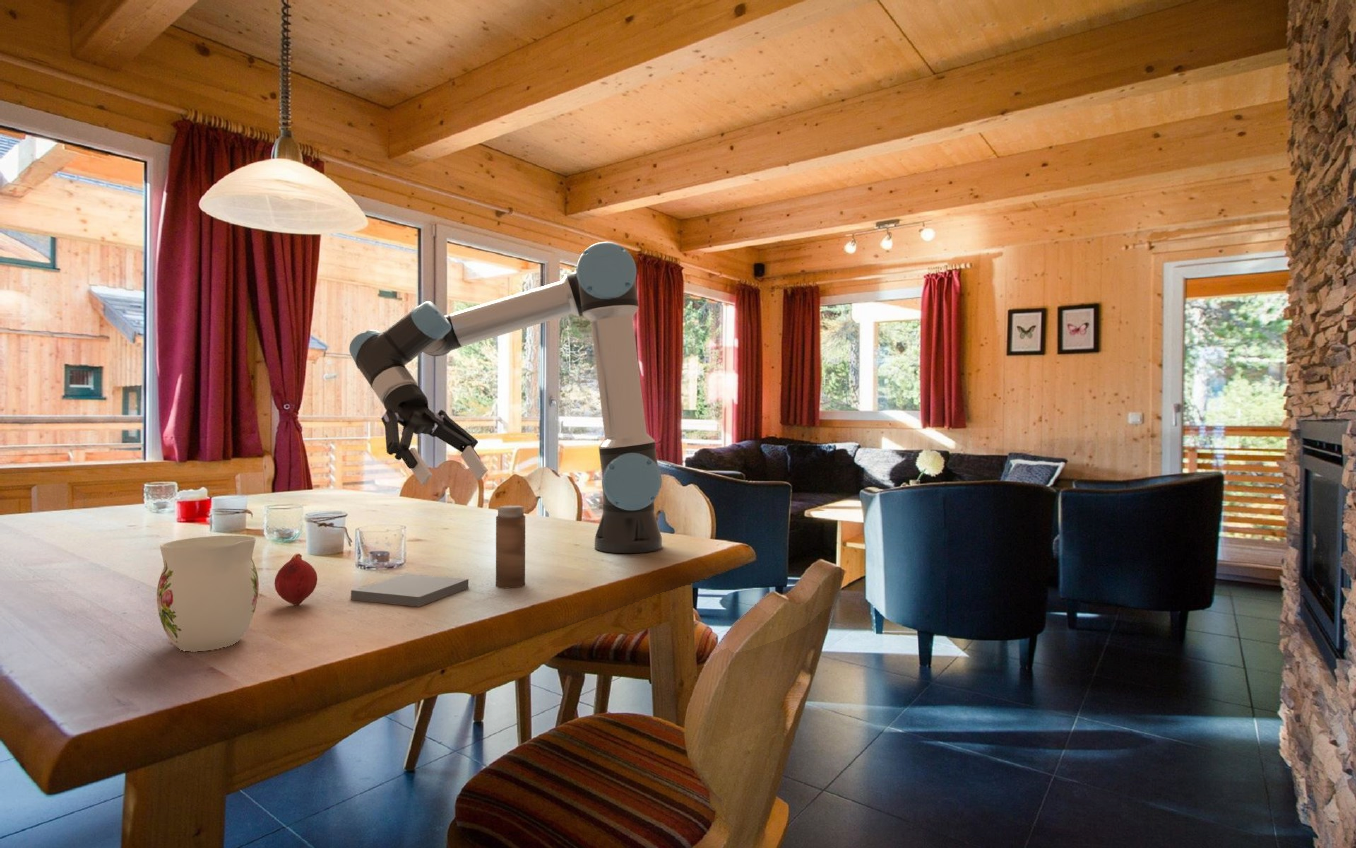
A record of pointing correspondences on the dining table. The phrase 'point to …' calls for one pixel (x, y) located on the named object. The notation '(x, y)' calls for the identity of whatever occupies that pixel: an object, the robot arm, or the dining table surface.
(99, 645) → the dining table surface
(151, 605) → the dining table surface
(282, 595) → the onion
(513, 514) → the pepper mill
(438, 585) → the slate board
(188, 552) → the pitcher
